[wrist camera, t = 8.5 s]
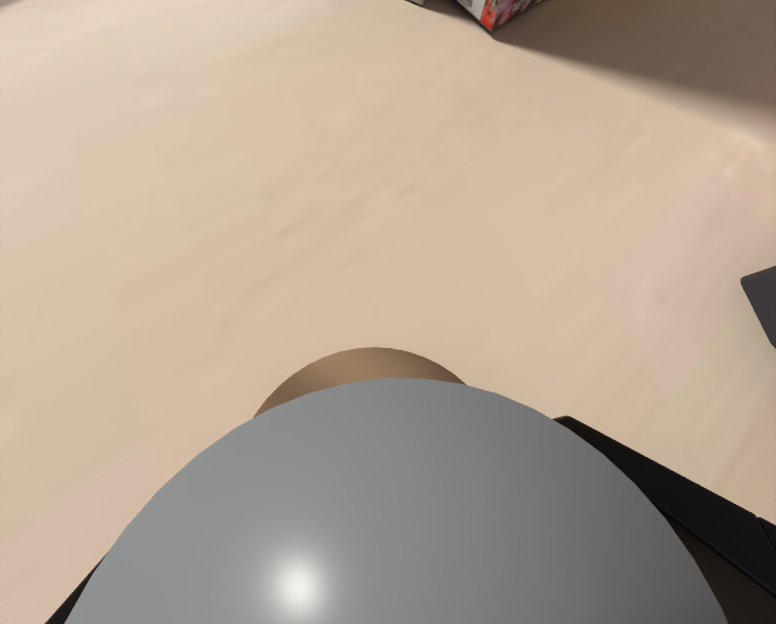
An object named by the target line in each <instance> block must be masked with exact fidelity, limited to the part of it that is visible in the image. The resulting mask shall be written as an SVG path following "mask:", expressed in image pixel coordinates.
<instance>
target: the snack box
mask: <svg viewBox="0 0 776 624" xmlns="http://www.w3.org/2000/svg"><path fill="white" fill-rule="evenodd" d="M456 1H457V2H458V3H459V4H460V5H461V6H462V7H463V8H464V9H465V10H467V11H468V12H469V13H470V14H471V15H472V16H473V17H474V18H475V19H476V20H478V21H479V22H480V23H481V24H482V25H483V26H485V27H486V28H487V29H488V30H490V31H492V30H494V29H496V28H498V27H499V26H501V25H502V24H504V23H505V22H507V21H509V20H510V19H512V18H514V17H515V16H517V15H518V14H520V13H522V12H523V11H525V10H526V9H528V8H530V7H531V6H533V5H535V4H536V3H538V2H540V1H541V0H456Z"/></svg>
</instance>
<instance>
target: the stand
mask: <svg viewBox="0 0 776 624" xmlns="http://www.w3.org/2000/svg"><path fill="white" fill-rule="evenodd" d="M384 378H412V379H430V380H437V381H444V382H452V383H459V384H463V385H466V384H465V383H464V382H463V381H461V380H460V379H459V378H458V377H457V376H456V375H454V374H453V373H451V372H450V371H448V370H447V369H445V368H444V367H442V366H441V365H439V364H437V363H435V362H433V361H431V360H429V359H427V358H425V357H422V356H419V355H416V354H413V353H410V352H407V351H402V350H397V349H391V348H377V347H373V348H357V349H352V350H347V351H342V352H338V353H335V354H332V355H329V356H326V357H324V358H322V359H319V360H317V361H315V362H313V363H311V364H309V365H307V366H306V367H304V368H303V369H301V370H299V371H298V372H296V373H295V374H293V375H292V376H291V377H290V378H288V379H287V380H286V381H285V382H283V383H282V384H281V385H280V386H279V387H278V388H277V389H276V390H275V391H274V392H273V393H272V394H271V395H270V396H269V397H268V398H267V399H266V401H265V402H264V403H263V405H262V406H261V407H260V409H259V410H258V411H257V413H256V414H255V416H254V417H253V418H255V417H257V416H258V415H260V414H262V413H264V412H266V411H267V410H269V409H271V408H274V407H276V406H279V405H281V404H284V403H286V402H288V401H291V400H293V399H296V398H298V397H301V396H303V395H306V394H308V393H312V392H316V391H319V390H323V389H327V388H331V387H335V386H338V385H342V384H346V383H353V382H361V381H368V380H376V379H384Z"/></svg>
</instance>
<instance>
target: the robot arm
mask: <svg viewBox="0 0 776 624" xmlns="http://www.w3.org/2000/svg"><path fill="white" fill-rule="evenodd" d="M552 420H554V421H556V422H557V423H559V424H561V425H563V426H565V427H566V428H568V429H570V430H571V431H572V432H574V433H575V434H576V435H578V436H579V437H580V438H582V439H583V440H584V441H586V442H587V443H589V444H590V445H591V446H593V447H594V448H595V449H597V450H598V451H599V452H601V453H602V454H603V455H604V456H605V457H607V458H608V459H609V460H610V461H611V462H612V463H613V464H614V465H615V466H616V467H617V468H618V469H619V470H621V471H622V472H623V473H624V474H625V475H626V476H627V477H628V478H629V479H630V480H631V481H632V482H633V483H635V484H636V486H637V487H638V488H639V489H640V490H641V491H642V493H643V494H644V495H645V496H646V497H647V498H648V499H649V501H650V502H651V503H652V504H653V505H654V506H655V508H656V509H657V510H658V511H659V512H660V513H661V514H662V516H663V517H664V518H665V519H666V520H667V522H668V523H669V525H670V526H671V527H672V529H673V530H674V532H675V533H676V535H677V536H678V537H679V539H680V540H681V542H682V543H683V544H684V546H685V547H686V549H687V550H688V552H689V553H690V554H691V556H692V557H693V559H694V560H695V562H696V564H697V565H698V567H699V569H700V571H701V573H702V574H703V576H704V578H705V580H706V581H707V583H708V585H709V587H710V588H711V590H712V592H713V594H714V595H715V597H716V599H717V601H718V603H719V604H720V606H721V608H722V611H723V613H724V615H725V617H726V620H727V622H728V624H776V525H774V524H772V523H770V522H768V521H767V520H765V519H763V518H761V517H756V515H755V514H753V513H751V512H749V511H747V510H746V509H744V508H742V507H740V506H738V505H736V504H734V503H732V502H731V501H729V500H727V499H725V498H723V497H721V496H719V495H717V494H715V493H714V492H712V491H710V490H708V489H706V488H704V487H702V486H700V485H699V484H697V483H695V482H693V481H691V480H689V479H687V478H685V477H683V476H682V475H680V474H678V473H676V472H674V471H672V470H670V469H668V468H667V467H665V466H663V465H661V464H659V463H657V462H655V461H653V460H651V459H650V458H648V457H646V456H644V455H642V454H640V453H638V452H636V451H635V450H633V449H631V448H629V447H627V446H625V445H623V444H621V443H619V442H618V441H616V440H614V439H612V438H610V437H608V436H606V435H604V434H603V433H601V432H599V431H597V430H595V429H593V428H591V427H589V426H587V425H586V424H584V423H582V422H580V421H578V420H576V419H574V418H572V417H570V416H562V417H558V418H554V419H552ZM108 552H109V551H108ZM106 555H107V554H106ZM106 555H105V556H106ZM105 556H104V557H105ZM104 557H103V558H102V559H101V561H100V562H99V563H98V564H97V565H96V566H95V567H94V568H93V570H92V571H91V572H90V573H89V574H88V575H87V576H86V578H85V579H84V580H83V581H82V582H81V583H80V584H79V586H78V587H77V588H76V589H75V590H74V591H73V592H72V593H71V595H70V596H69V597H68V598H67V599H66V600H65V601H64V603H63V604H62V605H61V606H60V607H59V608H58V609H57V611H56V612H55V613H54V614H53V615H52V616H51V617H50V618H49V620H48V621H47V622H46V623H45V624H65V622H66V620H67V618H68V617H69V615H70V613H71V611H72V609H73V608H74V606H75V604H76V602H77V601H78V599H79V597H80V595H81V594H82V592H83V590H84V588H85V587H86V585H87V583H88V581H89V580H90V578H91V576H92V574H93V573H94V572H95V570H96V569H97V567H98V566H99V565H100V563H101V562H102V560H103V559H104Z"/></svg>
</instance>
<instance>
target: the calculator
mask: <svg viewBox="0 0 776 624" xmlns="http://www.w3.org/2000/svg"><path fill="white" fill-rule="evenodd" d="M741 285H742V287H743V289H744V291H745V293H746V295H747V297H748V299H749V301H750V303H751V305H752V307H753V309H754V311H755V313H756V315H757V317H758V319H759V321H760V323H761V325H762V327H763V329H764V331H765V333H766V335H767V337H768V339H769V341H770V343H771V344H772V345H774V346H775V347H776V266H774V267H771V268H768V269H765V270H762V271H759V272H756V273H753V274H750V275H747V276H744V277H742V278H741Z"/></svg>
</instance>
